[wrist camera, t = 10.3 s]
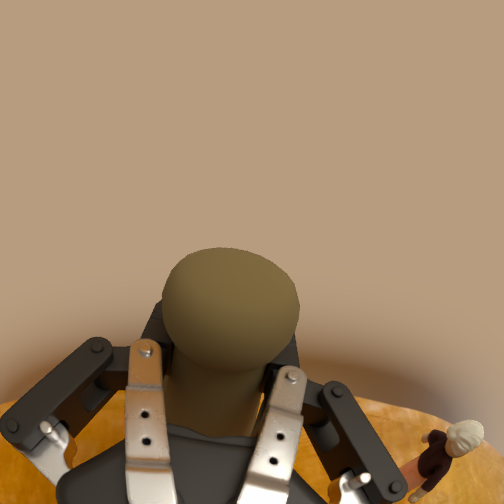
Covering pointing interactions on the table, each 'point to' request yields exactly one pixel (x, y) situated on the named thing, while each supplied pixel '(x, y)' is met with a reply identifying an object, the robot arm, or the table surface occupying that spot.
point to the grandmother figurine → (440, 456)
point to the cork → (224, 337)
